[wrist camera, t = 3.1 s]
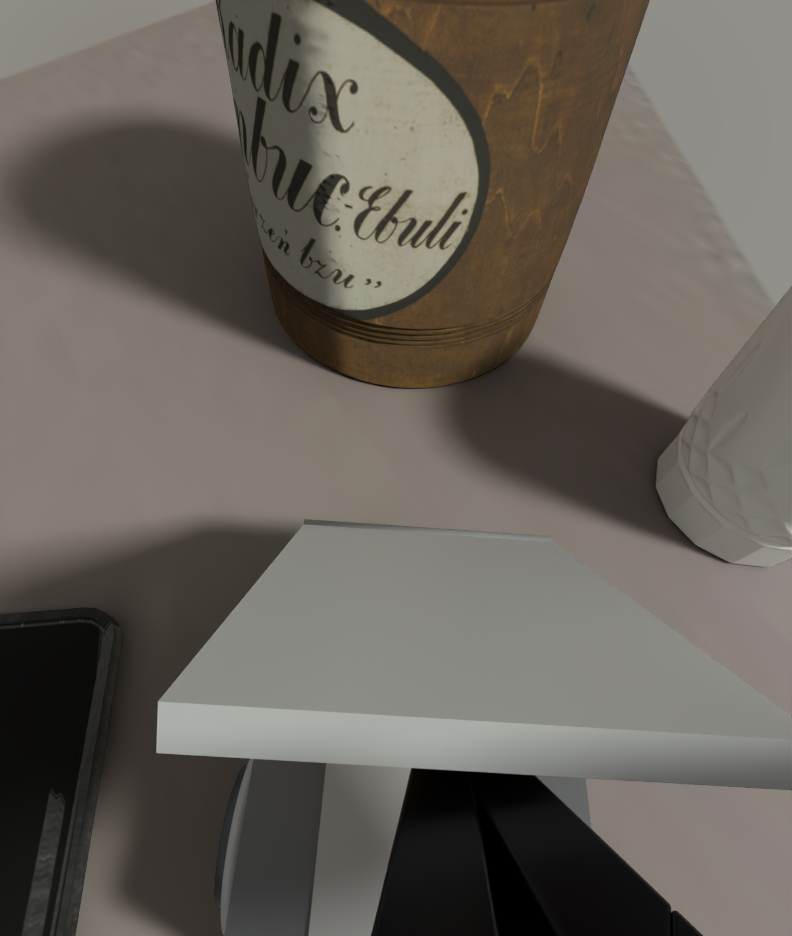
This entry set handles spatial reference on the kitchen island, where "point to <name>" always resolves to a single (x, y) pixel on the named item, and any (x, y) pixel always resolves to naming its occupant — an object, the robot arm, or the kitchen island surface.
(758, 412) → the white cup
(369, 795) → the camera case
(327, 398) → the kitchen island surface
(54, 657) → the phone
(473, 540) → the side door
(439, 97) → the wooden container
